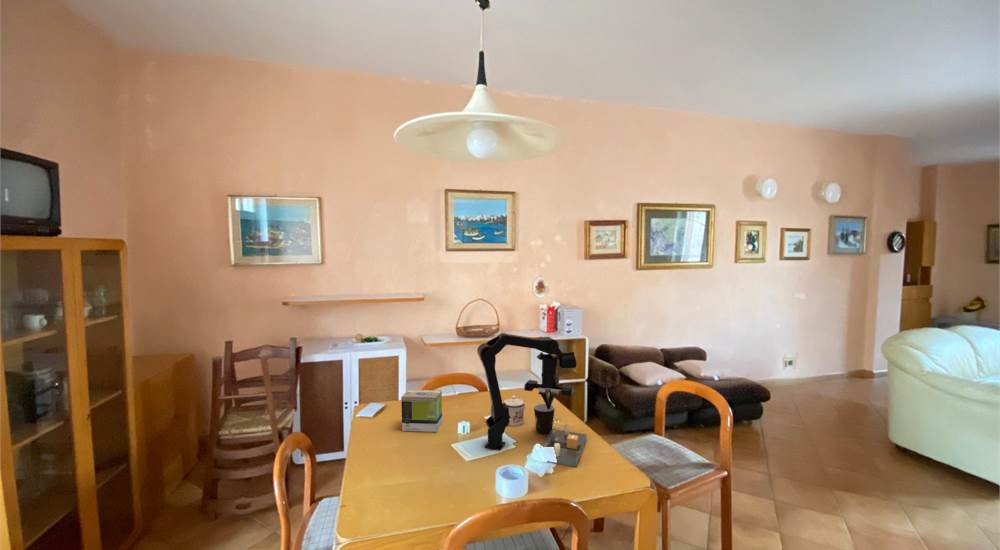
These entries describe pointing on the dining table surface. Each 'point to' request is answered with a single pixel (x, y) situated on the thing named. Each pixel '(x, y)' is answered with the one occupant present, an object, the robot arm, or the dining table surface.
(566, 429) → the peg
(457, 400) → the dining table surface
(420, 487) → the dining table surface
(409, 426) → the tea box
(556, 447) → the cylinder
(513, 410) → the teacup with lid
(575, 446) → the block
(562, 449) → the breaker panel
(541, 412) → the coffee mug
